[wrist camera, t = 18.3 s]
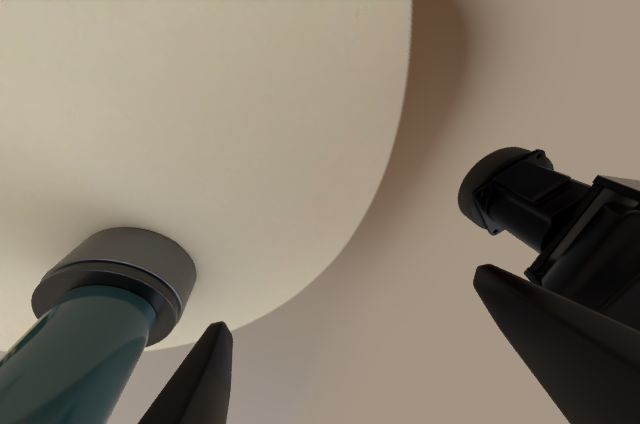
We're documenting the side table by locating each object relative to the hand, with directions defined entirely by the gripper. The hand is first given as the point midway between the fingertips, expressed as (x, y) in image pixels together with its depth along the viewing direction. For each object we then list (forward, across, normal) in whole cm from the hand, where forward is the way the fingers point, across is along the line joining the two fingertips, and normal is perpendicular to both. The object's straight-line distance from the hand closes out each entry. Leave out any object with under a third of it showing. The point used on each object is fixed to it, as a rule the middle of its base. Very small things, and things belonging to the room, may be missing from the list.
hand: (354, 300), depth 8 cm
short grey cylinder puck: (+12, +16, +6) cm, 21 cm away
